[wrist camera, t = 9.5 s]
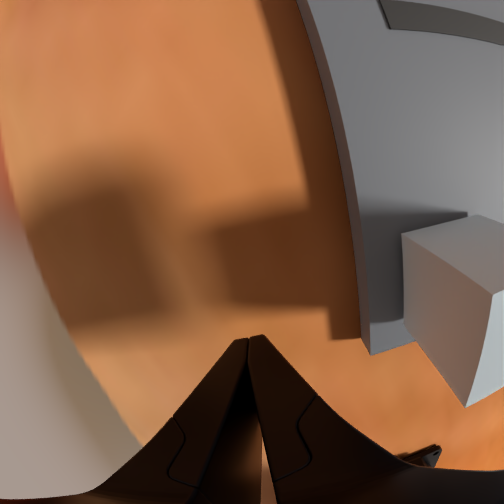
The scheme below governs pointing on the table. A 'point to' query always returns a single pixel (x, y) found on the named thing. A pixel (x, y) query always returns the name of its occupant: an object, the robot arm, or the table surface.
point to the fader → (458, 301)
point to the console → (410, 129)
